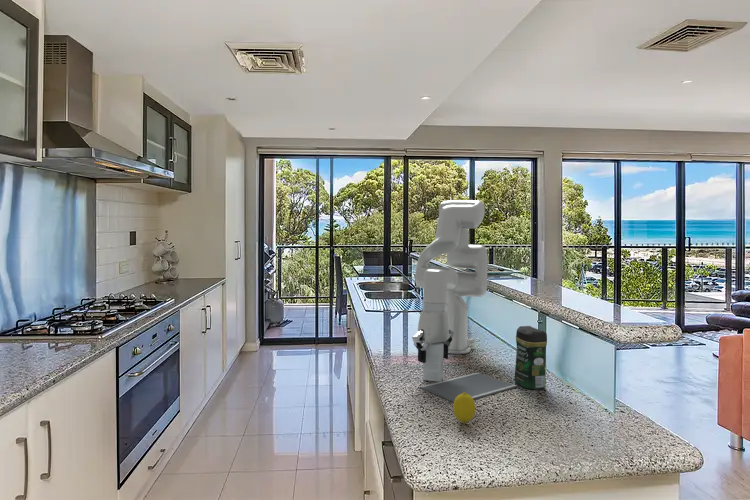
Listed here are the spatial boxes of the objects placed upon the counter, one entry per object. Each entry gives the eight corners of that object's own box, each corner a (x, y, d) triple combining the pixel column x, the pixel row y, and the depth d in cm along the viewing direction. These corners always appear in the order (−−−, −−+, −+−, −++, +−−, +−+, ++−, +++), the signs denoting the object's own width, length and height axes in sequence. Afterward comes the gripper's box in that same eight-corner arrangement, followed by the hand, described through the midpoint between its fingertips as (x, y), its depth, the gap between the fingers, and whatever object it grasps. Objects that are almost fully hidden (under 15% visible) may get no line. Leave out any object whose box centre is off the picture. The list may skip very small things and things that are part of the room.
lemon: (450, 419, 125) (451, 388, 124) (471, 418, 125) (472, 388, 125) (455, 428, 119) (456, 396, 119) (477, 427, 120) (478, 396, 119)
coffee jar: (510, 381, 156) (512, 324, 155) (531, 379, 158) (533, 323, 157) (527, 391, 147) (529, 331, 146) (549, 389, 149) (552, 330, 148)
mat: (477, 373, 163) (478, 372, 163) (516, 387, 150) (516, 385, 150) (420, 387, 148) (420, 386, 148) (457, 404, 135) (457, 402, 135)
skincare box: (443, 378, 158) (444, 342, 157) (440, 382, 154) (441, 345, 153) (425, 376, 160) (426, 340, 159) (422, 380, 156) (423, 343, 155)
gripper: (445, 304, 163) (444, 354, 164) (406, 307, 153) (404, 361, 154) (462, 307, 157) (460, 359, 158) (422, 311, 147) (420, 366, 148)
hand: (433, 360), depth 156 cm, fingers open, 9 cm apart
